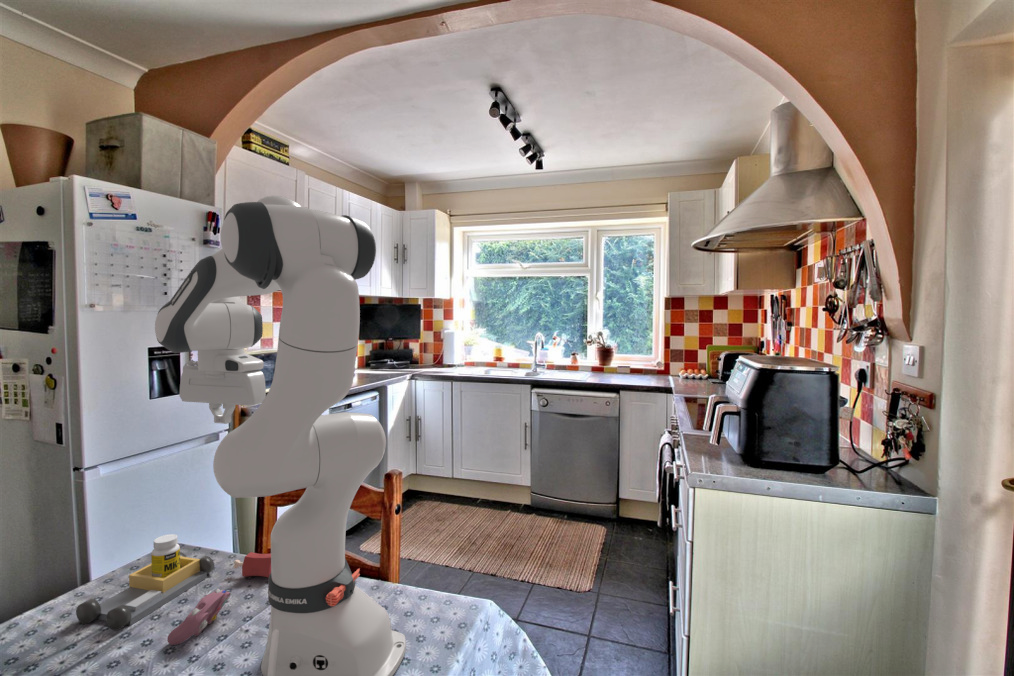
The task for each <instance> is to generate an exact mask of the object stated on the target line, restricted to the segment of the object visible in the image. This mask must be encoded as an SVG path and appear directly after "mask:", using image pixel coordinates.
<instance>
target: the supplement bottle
mask: <svg viewBox="0 0 1014 676" xmlns="http://www.w3.org/2000/svg"><path fill="white" fill-rule="evenodd" d="M178 541H179V539H178V535H177V534H173V533H170V534H163V535H161V536H158V537H157V538H155V539H153V549H152V551H151V553H150V554H151V555H150V556H151V558H150V560H151V561H150V562H151V563H152V577H158V578H165V577H167V576H169V575H170V574H172V573H174V572H175V571H177V570H179V569H180V552H181V548H180V547H181V546H180V545H179V544H178V543H179V542H178ZM151 563H150V564H151Z"/></svg>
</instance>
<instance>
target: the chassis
mask: <svg viewBox="0 0 1014 676" xmlns="http://www.w3.org/2000/svg"><path fill="white" fill-rule="evenodd" d="M214 569H215V561H214V560H213V559H212V558H211V557H210V556H209V555H205V556H202V557H201V558H194V557H188V556H187V555H186V554H185V553H183V552H182V551H180V569H179V570H177V571H175V572H174V573H172V574H170V575H169V576H167V577H165V578H158V577H152V563H149V564H147V565H145V566H144V567H141V568H140V569H138V570H136V571H134V572H132V573H130V574H129V575H128V578H129V581H128V582H129V586H128V588H126V589H124V590H122V591H120V592H119V593H117V594H115V595H113V596H111V597H110V598H107V599H105V600H104V601H101V603H99V602H98V601H97V600H96V599H93V598H90V599H88V600H86V601H84V602H83V603H82V602H81V604H79V605H77V606H76V610H75V615H76V618H77V620H78V621H79V622H80V623H82V624H83V625H87V624H89V623H91V622H92V621H94V620H101V621H106V624H107V626H108V627H109V628H110V629H112V630H113V631H118V630H121V629H122V628H123V627H125V626H133V625H134V624H136V623H137V622H139V621H140V620H142V619H144V618H145V617H146V616H148V615H150V614H151V613H153V612H155V611H156V610H158V609H159V608H161V607H163V606H164V605H166V604H167V603H169V602H170V601H172V600H173V599H175V598H176V597H177V598H178V596H180V595H181V594H183V593H184V592H187V590H189V589H191V588H193V587H194V586H196V585H198V584H199V583H201V582H202V581H204V580H205V579H207V578H208V575H209V574H210V573H212V572H213V571H214ZM195 584H196V585H195ZM192 586H193V587H192Z"/></svg>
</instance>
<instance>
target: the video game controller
mask: <svg viewBox="0 0 1014 676" xmlns="http://www.w3.org/2000/svg"><path fill="white" fill-rule="evenodd" d="M230 596H231V592H230V591H227V590H225V589H220V588H216V589H215V591H213V592H211V593H208V594H206V595H204V596H203V597H202V598H200V600H199V601H198V603H197V605H196V606H195V607H194V608H193V609H192V610H191V611H190V613H189V614H188V615H187V616H186V617H185V618H184V620H183V621H182V622H181V623H180V624H179V625H178V626H176V627H175V628H174V629H172V630H171V631H170V632H169V634H168V635H167V639H166V640H167V643H168V644H169V645H170V646H174V645H175V646H176V645H180V644H182V643H184V642H185V641H187V640H188V639H190V638H191V637H192V636H193V635H194V636H196V637H198V636H199V635H200V634H201V633H202V632H203V630H204V629H205V628H206V627H207V626H208V625H210V624H211V623H213V621H215V620H216V619H217V618H218V617H217V616H218V614H220V611H221V610H222V609H223V607H225V605H226V603H227V602H228V600H229V598H230Z"/></svg>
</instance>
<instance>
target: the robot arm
mask: <svg viewBox="0 0 1014 676" xmlns="http://www.w3.org/2000/svg"><path fill="white" fill-rule="evenodd" d="M220 243H221V248H222V249H220V250H218V251H217V252H215V253H213V254H211V255H209V256H206V257H204V258H202V259H200V260H199V261H197V263H196V264H195V265H194V267H193V268H192V269H191V270H190V271H189V273H188V275H187V276H186V277H185V278H184V281H183V282H182V283H181V285H180V286H179V287H178V289H177V290H176V292H175V293H174V295H173V296H172V298H171V299H170V300H169V301H168V302H166V303H165V304H164V305H163V306H162V307H161V308H160V309H159V310H158V313H156V314H157V316H156V317H155V321H154V332H155V336H156V340H157V341H156V342H158V344H160V345H161V346H162V347H164V348H165V349H166V350H168V351H170V352H172V353H173V354H180V353H188V352H189V353H191V352H195V351H196V352H197V360H188V361H187V362H186V363H185V364H184V365H183V366H182V373H181V375H180V384H179V398H180V399H181V401H182V402H186V403H200V404H201V403H202V404H208V408H209V410H210V412H211V413H212V416H213V422H214V424H223V425H227V424H230V423H231V422H232V414H233V413H234V411H235V409H236V405H237V406H250V407H252V406H257V405H259V406H258V408H257V409H256V410H255V411H254V412H253V413H252V414H251V416H249V417H248V419H246V420H245V421H243V422H242V423H241V424H240V425H239V426H237V427H236V428H234V429H233V430H231V431H230V432H228V433H227V434H226V435H225V436H224V437H223V439H222V440H221V441H220V442H219V443H218V444H219V445H218V446H217V448H216V450H215V453H214V456H213V461H212V462H213V463H212V464H213V466H212V468H213V469H212V470H213V474H214V477H215V480H216V482H217V484H218V486H219V487H220V488H221V489H222V490H223V491H224V492H225V493H226V494H227V495H228V496H230V497H232V498H237V499H238V498H259V497H260V498H261V497H263V498H265V497H271V496H275V495H280V494H283V493H288V492H293V491H296V490H302V489H305V490H304V492H303V494H302V495H301V497H300V498H299V499H298V500H297V501H296V502H295V503H294V504H292V506H290V507H289V508H288V509H287V510H286V511H284V512H283V513H282V514H281V515H280V516H279V517H278V519H277V520H276V521H275V524H274V525H273V527H272V530H271V533H270V553H271V573H270V575H269V577H268V583H267V584H268V588H267V597H268V603H269V605H270V615H269V616H270V617H269V627H268V635H267V641H266V644H265V650H264V654H263V656H262V659H261V663H260V664H261V665H260V671H261V674H262V676H394V674H395V673H396V671H397V670H398V669H399V667H400V665H401V663H402V661H403V660H404V656H405V654H406V650H407V644H406V643H407V641H406V636H405V634H403V633H401V632H399V631H396V630H393V628H392V624H391V618H390V615H389V613H388V611H387V609H386V608H385V607H383V606H382V605H380V603H378V602H377V601H375V599H374V598H373V597H372V596H369V595H368V594H367V593H366V592H364V591H363V590H362V589H361V588H360V587H358V585H356V580H357V579H358V578H359V577H360V575H361V574H360V571H361V570H360V569H361V568H357V569H356V571H354V572H353V573H352V571H351V568H350V565H349V563H348V561H347V559H346V533H347V532H346V531H347V520H348V515H349V511H350V510H351V509H350V508H351V506H352V504H353V501H354V499H355V496H356V494H357V493H358V490H359V489H360V486H362V484H363V482H364V481H365V479H366V478H367V477H368V476H369V475H370V473H371V472H373V471H374V470H375V469H376V468H377V467H378V466H379V464H380V463H381V462H382V459H383V457H384V455H385V451H386V448H387V447H386V446H387V440H386V439H387V438H386V432H385V430H384V428H383V426H382V424H381V422H380V421H379V420H378V419H377V418H376V417H375V416H374V415H373V414H370V413H362V412H348V411H347V412H346V411H343V412H337V413H327V414H324V413H325V412H326V411H327V410H329V409H330V408H332V407H333V406H335V405H336V404H338V403H340V402H342V400H343V399H345V397H346V396H347V395H348V394H349V392H350V390H351V388H352V386H353V384H354V374H355V368H356V360H357V355H358V354H357V353H358V344H359V337H360V324H361V322H360V320H361V317H360V316H361V314H360V313H361V310H360V309H361V307H360V294H359V286H358V284H357V281H356V280H359V279H362V278H365V277H366V276H367V275H368V274H369V273H370V271H371V269H372V268H373V265H374V263H375V261H376V253H377V246H376V245H377V244H376V240H375V236H374V233H373V231H372V229H371V227H369V226H368V224H367V223H366V222H365V221H363V220H360V219H358V218H355V217H353V216H350V215H347V214H343V215H339V214H336V213H332V212H327V211H323V210H319V209H318V210H317V209H311V208H308V207H306V206H301V205H300V204H299V203H298V202H296V201H294V200H293V199H291V198H288V197H286V196H281V195H269V196H265V197H262V198H260V199H258V200H257V201H247V202H239V203H236V204H233V205H232V206H231V207H230V208H229V209H228V210H227V212H226V213H225V216H224V218H223V223H222V225H221V230H220ZM279 290H280V292H281V295H282V310H281V316H280V322H279V327H278V339H277V352H276V358H275V359H276V360H275V366H274V370H273V371H274V372H273V378H272V382H271V385H270V387H269V390H268V391H267V393H266V390H267V388H266V378H265V373H263V371H262V369H264V367H265V366H264V365H265V364H264V361H263V360H262V359H260V358H258V357H256V356H253V355H251V354H248V353H246V352H245V349H247V348H252V347H253V346H255V345H256V344H257V343H258V342H259V341H260V340H261V339H262V337H263V333H264V332H263V331H264V328H263V315H262V314H261V313H260V311H259V310H257V308H256V307H254V306H253V305H251V304H246V303H245V302H243V301H242V297H248V296H249V297H250V296H251V297H252V296H264V295H268V294H272V293H273V294H274V293H276V292H277V291H279ZM222 409H224V410H223V411H222Z"/></svg>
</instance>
